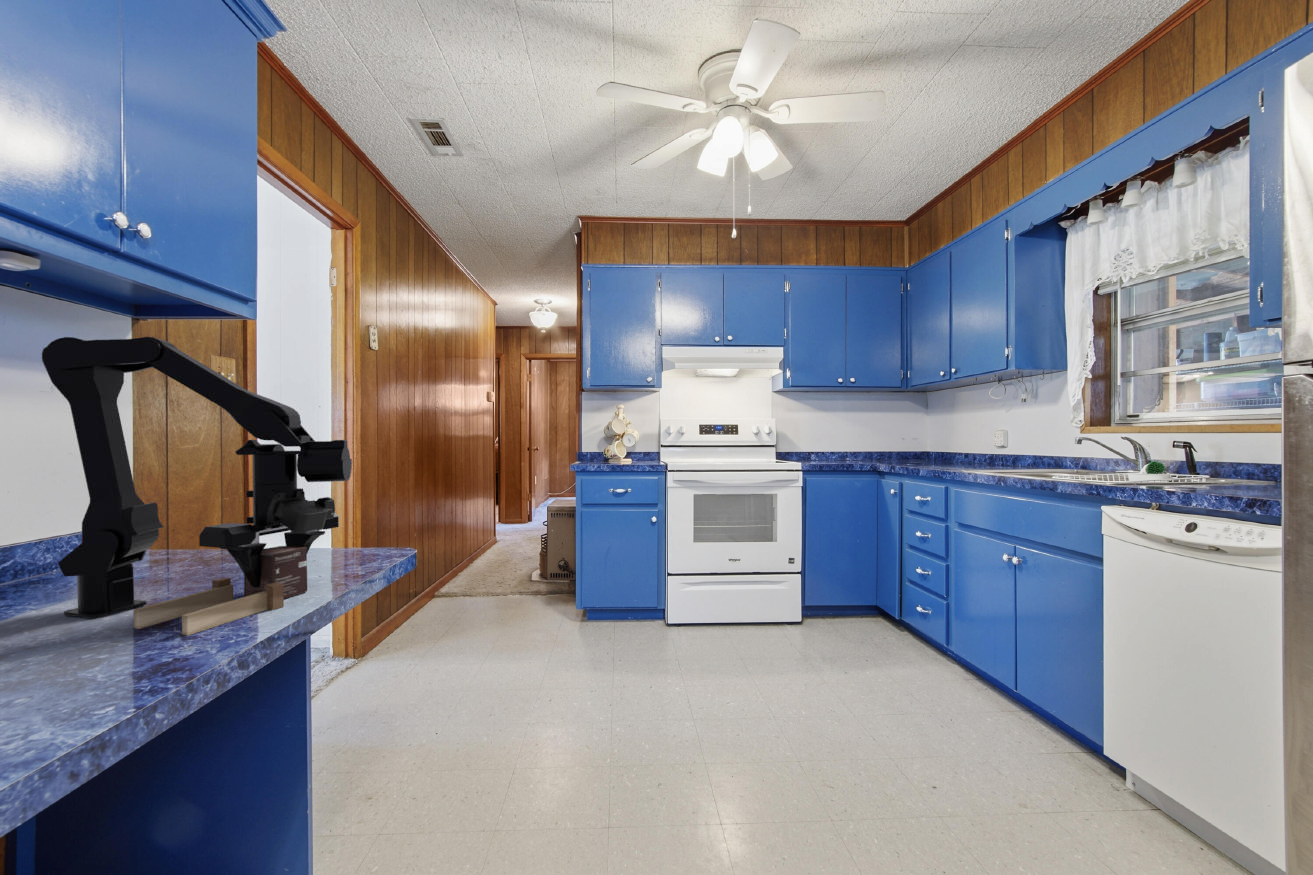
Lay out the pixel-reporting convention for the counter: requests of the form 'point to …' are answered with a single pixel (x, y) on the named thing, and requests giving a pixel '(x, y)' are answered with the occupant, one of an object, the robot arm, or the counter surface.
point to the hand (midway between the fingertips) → (276, 581)
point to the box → (282, 570)
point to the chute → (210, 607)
